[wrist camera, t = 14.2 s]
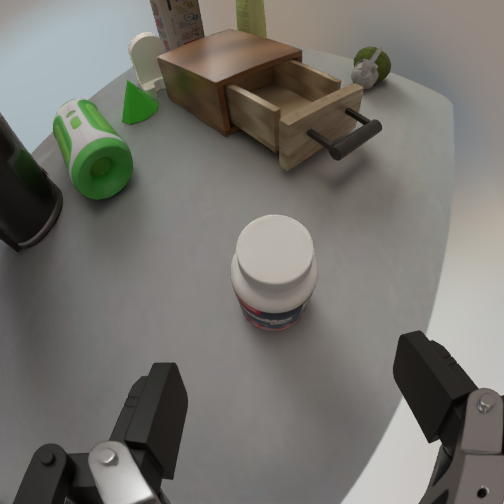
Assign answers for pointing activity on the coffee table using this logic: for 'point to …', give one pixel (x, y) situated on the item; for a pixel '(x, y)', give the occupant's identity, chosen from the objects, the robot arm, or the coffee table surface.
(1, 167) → the robot arm
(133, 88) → the gemstone
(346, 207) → the coffee table surface
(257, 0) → the tube
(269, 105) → the dresser drawer
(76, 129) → the speaker
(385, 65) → the hand grenade
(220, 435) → the coffee table surface
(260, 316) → the pill bottle
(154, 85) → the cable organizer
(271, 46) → the wooden mini dresser
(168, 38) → the juice carton
